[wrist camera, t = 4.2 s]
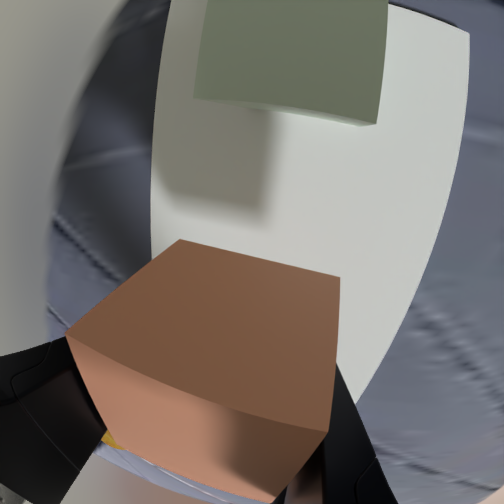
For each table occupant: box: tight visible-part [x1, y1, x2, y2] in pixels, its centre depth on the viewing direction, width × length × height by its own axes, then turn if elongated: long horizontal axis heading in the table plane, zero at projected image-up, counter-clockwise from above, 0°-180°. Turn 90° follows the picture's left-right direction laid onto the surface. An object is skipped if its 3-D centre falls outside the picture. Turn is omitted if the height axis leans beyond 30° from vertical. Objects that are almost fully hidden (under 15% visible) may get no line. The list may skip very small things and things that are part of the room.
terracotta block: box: [65, 239, 340, 503], centre depth 7 cm, size 4×4×4 cm
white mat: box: [151, 0, 469, 404], centre depth 13 cm, size 24×13×1 cm, turn 173°
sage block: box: [193, 0, 388, 127], centre depth 7 cm, size 4×4×4 cm
